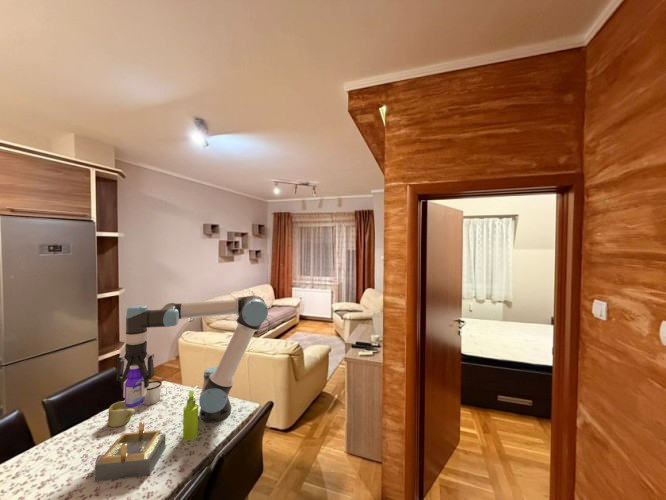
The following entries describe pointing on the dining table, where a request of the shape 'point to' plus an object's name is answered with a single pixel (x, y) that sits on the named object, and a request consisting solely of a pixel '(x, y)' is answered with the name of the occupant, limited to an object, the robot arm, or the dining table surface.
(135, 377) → the bottle
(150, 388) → the mug
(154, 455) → the grey and tan box
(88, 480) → the dining table surface
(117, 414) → the mug
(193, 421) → the soap dispenser
